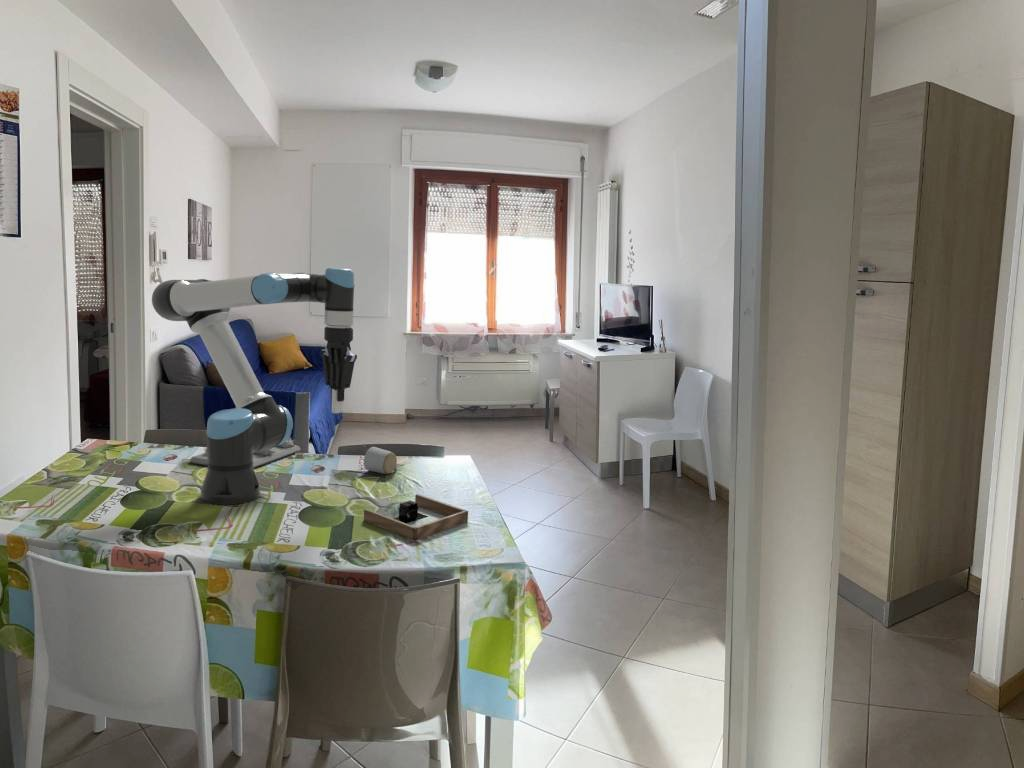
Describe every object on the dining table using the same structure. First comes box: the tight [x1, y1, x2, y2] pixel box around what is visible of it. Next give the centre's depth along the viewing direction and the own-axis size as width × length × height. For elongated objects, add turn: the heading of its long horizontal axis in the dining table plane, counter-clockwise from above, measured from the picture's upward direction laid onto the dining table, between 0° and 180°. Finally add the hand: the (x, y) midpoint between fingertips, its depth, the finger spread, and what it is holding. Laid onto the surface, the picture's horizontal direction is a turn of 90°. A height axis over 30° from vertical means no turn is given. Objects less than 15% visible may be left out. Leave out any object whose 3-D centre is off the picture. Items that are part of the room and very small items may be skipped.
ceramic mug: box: [363, 446, 399, 475], centre depth 235 cm, size 11×8×8 cm
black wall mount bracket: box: [392, 500, 429, 524], centre depth 194 cm, size 12×7×5 cm, turn 141°
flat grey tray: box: [189, 436, 302, 470], centre depth 242 cm, size 30×22×7 cm
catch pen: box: [363, 493, 469, 541], centre depth 192 cm, size 19×19×3 cm
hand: (337, 412), depth 203 cm, fingers closed
